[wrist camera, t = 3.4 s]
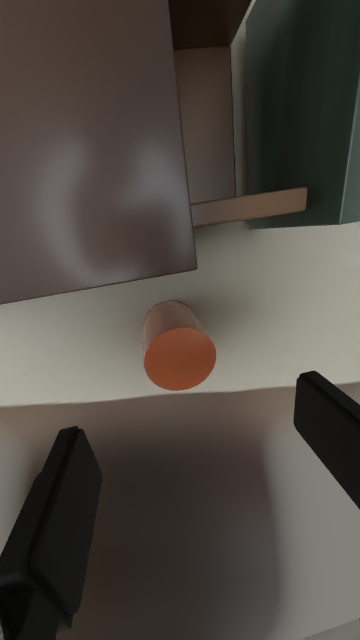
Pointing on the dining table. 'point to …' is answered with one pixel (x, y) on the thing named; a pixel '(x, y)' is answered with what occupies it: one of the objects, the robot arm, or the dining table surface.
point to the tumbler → (176, 347)
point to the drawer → (271, 110)
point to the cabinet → (89, 147)
